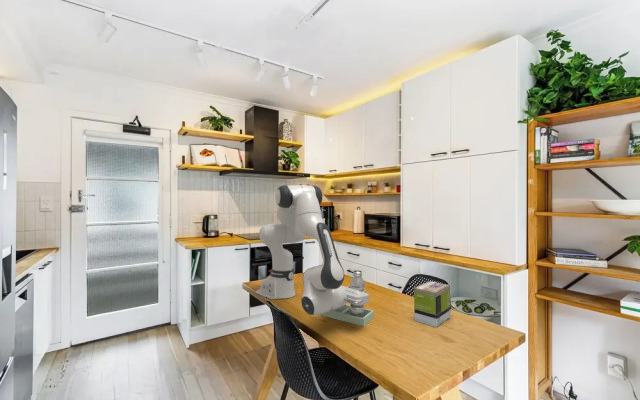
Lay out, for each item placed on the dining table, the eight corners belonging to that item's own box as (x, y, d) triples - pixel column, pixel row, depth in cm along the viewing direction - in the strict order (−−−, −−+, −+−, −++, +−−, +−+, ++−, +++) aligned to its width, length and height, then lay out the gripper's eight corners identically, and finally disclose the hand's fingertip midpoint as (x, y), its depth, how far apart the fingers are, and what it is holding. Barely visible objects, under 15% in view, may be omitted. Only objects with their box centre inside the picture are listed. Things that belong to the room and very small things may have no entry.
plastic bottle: (347, 314, 132) (348, 269, 133) (362, 313, 133) (363, 269, 133) (350, 320, 126) (351, 273, 126) (366, 319, 127) (366, 273, 127)
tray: (320, 315, 133) (320, 308, 133) (332, 307, 143) (332, 301, 143) (363, 326, 122) (363, 319, 122) (374, 317, 131) (374, 310, 131)
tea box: (429, 311, 139) (429, 280, 139) (451, 318, 131) (451, 284, 131) (413, 320, 128) (413, 286, 128) (436, 328, 121) (436, 291, 121)
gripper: (356, 295, 113) (378, 288, 122) (320, 283, 128) (342, 278, 138) (355, 311, 113) (377, 303, 122) (320, 298, 128) (342, 291, 138)
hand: (358, 290), depth 130 cm, fingers closed on plastic bottle, 6 cm apart
